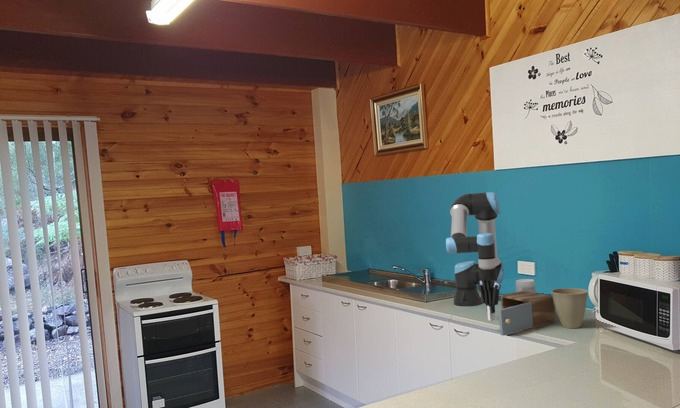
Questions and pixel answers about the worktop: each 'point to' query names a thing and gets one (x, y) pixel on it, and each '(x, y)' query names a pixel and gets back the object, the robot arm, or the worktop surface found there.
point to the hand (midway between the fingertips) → (491, 319)
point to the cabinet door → (515, 318)
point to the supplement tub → (525, 285)
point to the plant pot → (570, 306)
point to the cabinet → (533, 305)
